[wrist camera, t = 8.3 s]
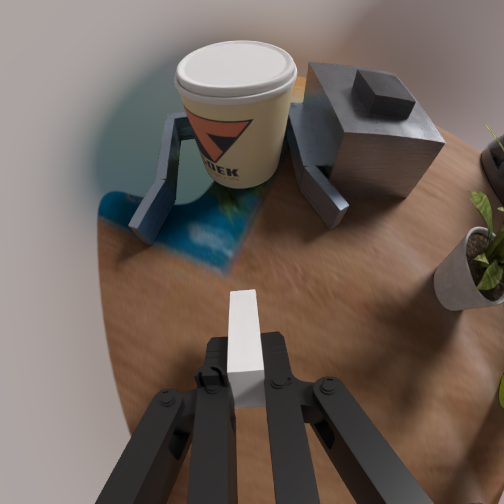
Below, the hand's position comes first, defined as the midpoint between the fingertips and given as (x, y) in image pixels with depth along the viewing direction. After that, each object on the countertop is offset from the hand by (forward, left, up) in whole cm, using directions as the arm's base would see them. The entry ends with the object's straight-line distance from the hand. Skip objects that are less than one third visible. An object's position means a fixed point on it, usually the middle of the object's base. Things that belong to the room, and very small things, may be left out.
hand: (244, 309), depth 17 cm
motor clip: (-11, -12, -5) cm, 17 cm away
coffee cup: (-8, -14, -5) cm, 17 cm away
